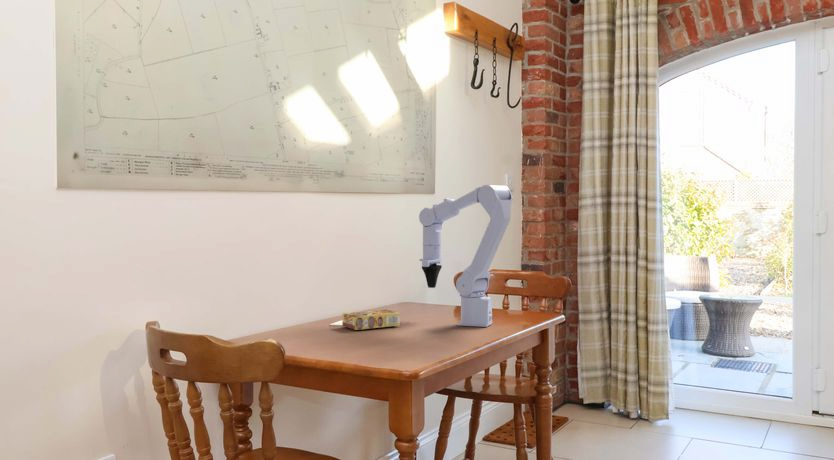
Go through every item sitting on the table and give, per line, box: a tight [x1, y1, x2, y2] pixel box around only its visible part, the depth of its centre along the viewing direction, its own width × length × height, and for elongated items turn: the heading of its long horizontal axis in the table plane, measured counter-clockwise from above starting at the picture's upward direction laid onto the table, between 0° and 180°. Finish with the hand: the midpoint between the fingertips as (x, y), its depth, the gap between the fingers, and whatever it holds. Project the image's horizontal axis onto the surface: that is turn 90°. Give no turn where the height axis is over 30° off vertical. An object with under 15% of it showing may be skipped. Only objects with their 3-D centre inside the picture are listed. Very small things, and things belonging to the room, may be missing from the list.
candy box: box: [341, 309, 401, 331], centre depth 235 cm, size 9×4×15 cm
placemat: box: [328, 319, 344, 327], centre depth 244 cm, size 14×16×1 cm
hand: (431, 287), depth 250 cm, fingers closed
